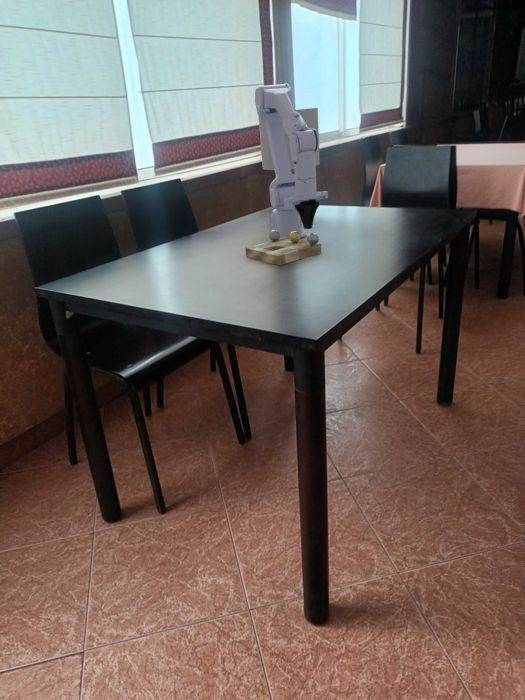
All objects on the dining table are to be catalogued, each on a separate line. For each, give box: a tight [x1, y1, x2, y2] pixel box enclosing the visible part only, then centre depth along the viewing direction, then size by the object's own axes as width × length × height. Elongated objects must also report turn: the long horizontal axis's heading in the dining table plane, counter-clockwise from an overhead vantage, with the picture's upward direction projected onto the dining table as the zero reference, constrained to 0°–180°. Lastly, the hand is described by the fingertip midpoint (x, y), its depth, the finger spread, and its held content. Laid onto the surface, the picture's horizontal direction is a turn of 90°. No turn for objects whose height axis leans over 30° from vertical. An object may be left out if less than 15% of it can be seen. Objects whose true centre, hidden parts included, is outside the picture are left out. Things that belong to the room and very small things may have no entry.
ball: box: [289, 231, 301, 243], centre depth 138 cm, size 3×3×3 cm
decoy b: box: [306, 232, 320, 245], centre depth 134 cm, size 3×3×3 cm
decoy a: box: [268, 229, 280, 241], centre depth 142 cm, size 3×3×3 cm
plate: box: [244, 237, 322, 266], centre depth 137 cm, size 15×15×2 cm
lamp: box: [257, 107, 321, 219], centre depth 176 cm, size 20×20×37 cm
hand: (307, 228), depth 140 cm, fingers closed
